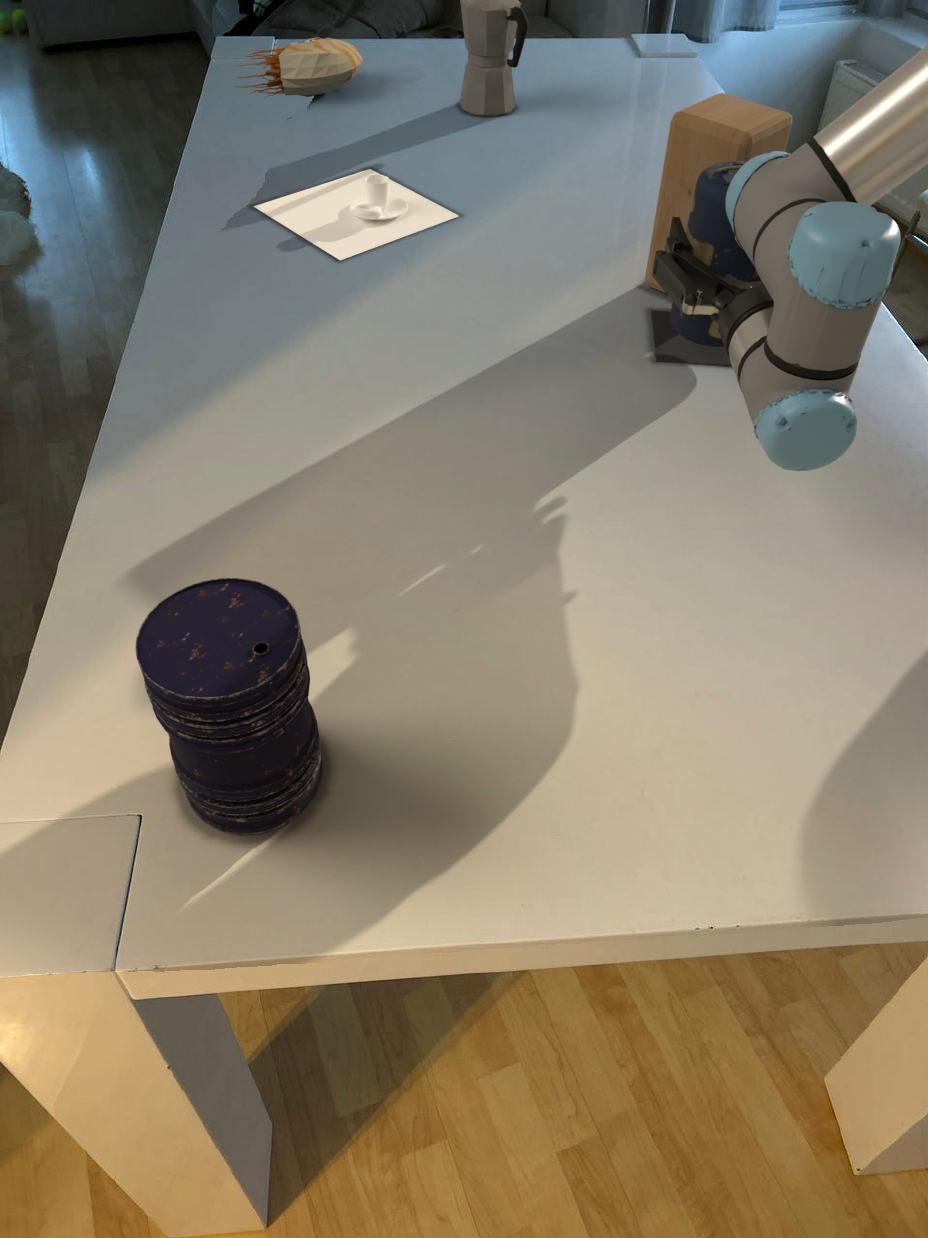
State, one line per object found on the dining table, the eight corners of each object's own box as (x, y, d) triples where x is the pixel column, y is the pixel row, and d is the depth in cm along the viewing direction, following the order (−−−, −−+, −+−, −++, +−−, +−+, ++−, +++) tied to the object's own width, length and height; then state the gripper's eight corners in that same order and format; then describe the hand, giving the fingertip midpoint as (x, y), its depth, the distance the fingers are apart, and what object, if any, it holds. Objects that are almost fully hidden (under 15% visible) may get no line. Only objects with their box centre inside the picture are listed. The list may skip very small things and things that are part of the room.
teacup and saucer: (368, 230, 125) (366, 199, 122) (333, 209, 129) (330, 179, 126) (419, 211, 129) (419, 181, 126) (383, 192, 133) (382, 162, 130)
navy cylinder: (155, 808, 65) (98, 669, 54) (229, 703, 72) (190, 560, 61) (283, 855, 63) (250, 721, 52) (348, 743, 69) (330, 601, 58)
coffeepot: (440, 100, 158) (440, -28, 145) (485, 88, 162) (489, -37, 149) (498, 129, 150) (503, -3, 136) (543, 116, 154) (553, -13, 140)
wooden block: (640, 286, 116) (668, 111, 102) (686, 258, 121) (719, 88, 107) (709, 315, 112) (749, 136, 97) (754, 285, 117) (798, 111, 102)
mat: (765, 369, 104) (765, 367, 104) (655, 363, 105) (656, 360, 105) (752, 318, 112) (753, 315, 112) (650, 312, 112) (651, 310, 112)
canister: (691, 300, 110) (724, 138, 97) (767, 326, 107) (813, 160, 93) (652, 335, 105) (682, 168, 92) (731, 363, 101) (774, 193, 88)
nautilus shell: (234, 111, 154) (242, 84, 165) (366, 101, 155) (365, 74, 165) (223, 56, 149) (232, 32, 159) (359, 45, 149) (359, 22, 160)
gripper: (641, 375, 89) (613, 262, 104) (875, 377, 90) (813, 263, 105) (654, 302, 84) (623, 193, 99) (903, 304, 84) (833, 195, 99)
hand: (721, 229), depth 102 cm, fingers closed on canister, 9 cm apart
